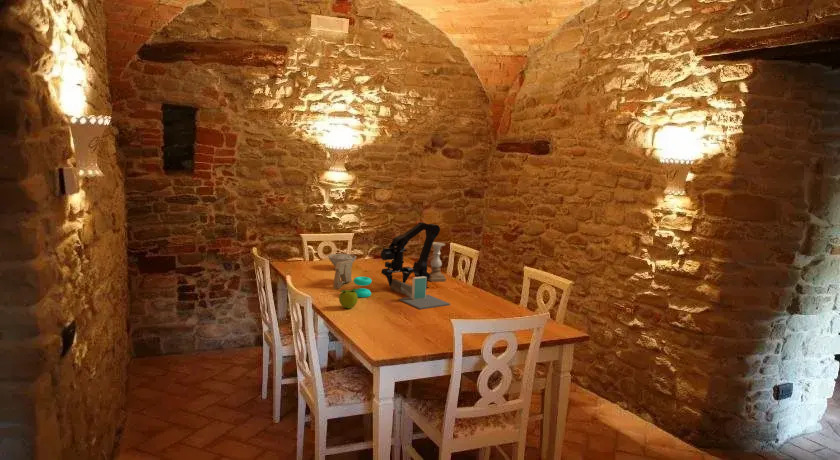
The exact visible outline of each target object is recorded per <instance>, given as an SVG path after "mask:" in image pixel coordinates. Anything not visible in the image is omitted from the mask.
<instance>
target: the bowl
mask: <svg viewBox="0 0 840 460" xmlns="http://www.w3.org/2000/svg"><path fill="white" fill-rule="evenodd" d="M327 257H328V259H329V261H330V263H332V265H333V266H335V267H336V264H337V263H338V262H343V261H347V260H353V261H352V264H353V263H354V262H355V261H356V259H357V256H356V255H355V254H350V253H333V254H332V253H331V254H328V256H327Z"/></svg>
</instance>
